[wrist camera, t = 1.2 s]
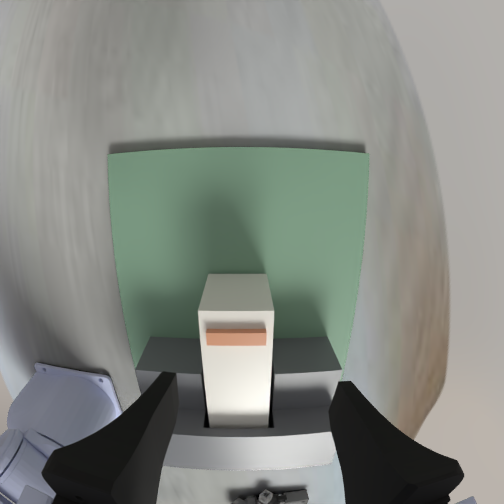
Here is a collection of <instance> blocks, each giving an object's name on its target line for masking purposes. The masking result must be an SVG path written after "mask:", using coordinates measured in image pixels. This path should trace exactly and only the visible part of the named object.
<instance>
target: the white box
mask: <svg viewBox="0 0 504 504" xmlns="http://www.w3.org/2000/svg"><path fill="white" fill-rule="evenodd" d="M198 318H199V330H200V342H201V353H202V363H203V373H204V383H205V392H206V400H207V409H208V417H209V425H210V428H227V429H253V428H268V419H269V403H270V387H271V369H272V350H273V329H274V307H273V302H272V297H271V292H270V287H269V283H268V278H267V274H208V277H207V281H206V284H205V287H204V291H203V295H202V298H201V302H200V305H199V309H198Z"/></svg>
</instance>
